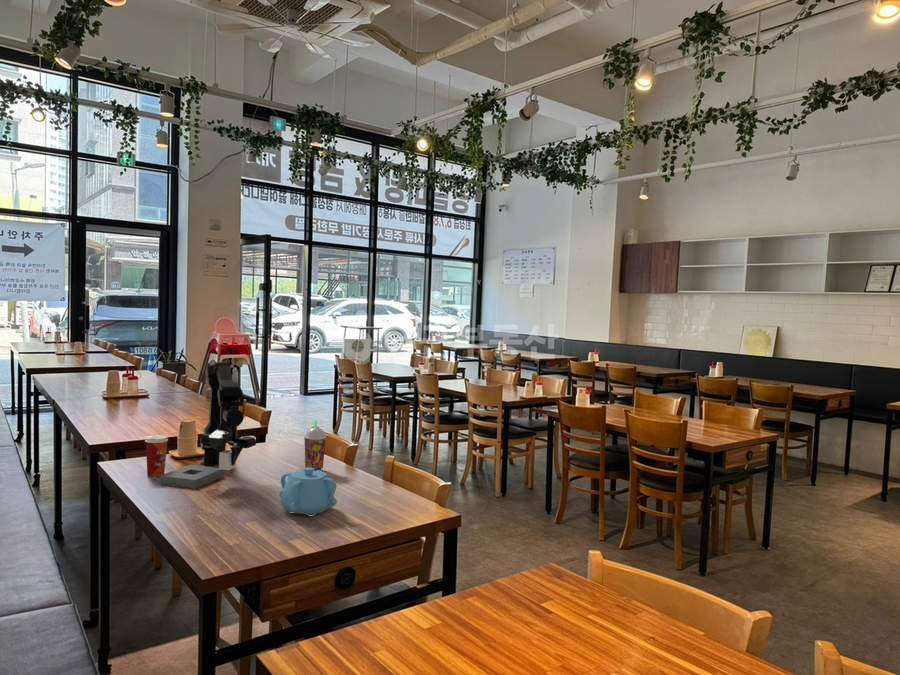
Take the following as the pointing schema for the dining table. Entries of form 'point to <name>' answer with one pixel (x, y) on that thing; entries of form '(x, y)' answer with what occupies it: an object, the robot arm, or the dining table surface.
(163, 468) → the paper cup
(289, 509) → the decorative pot
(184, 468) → the socket plate
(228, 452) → the block
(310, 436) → the smoothie
